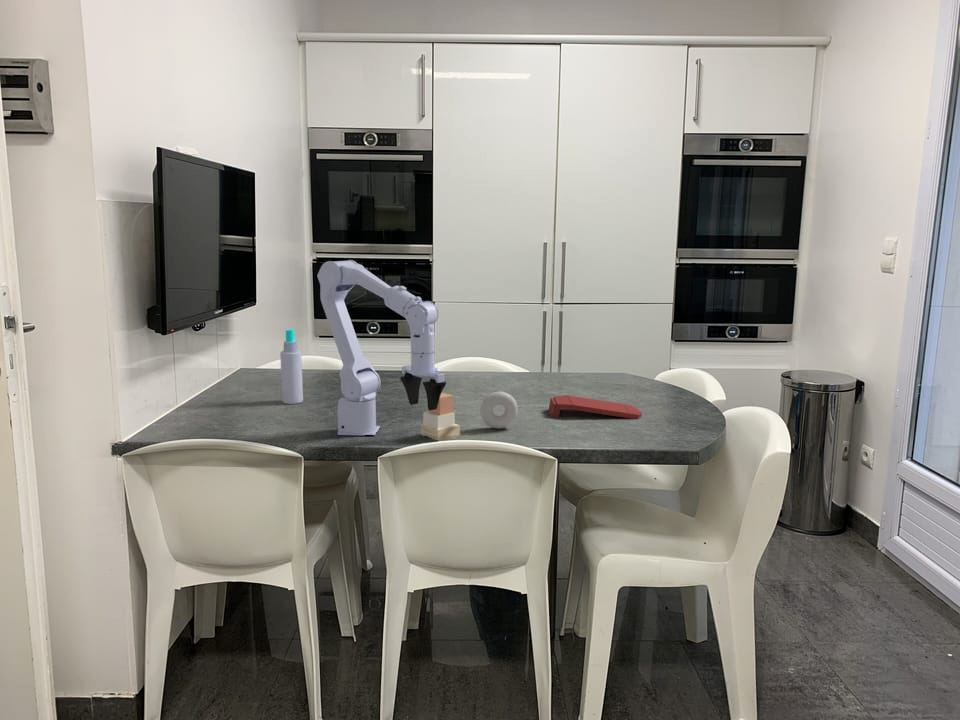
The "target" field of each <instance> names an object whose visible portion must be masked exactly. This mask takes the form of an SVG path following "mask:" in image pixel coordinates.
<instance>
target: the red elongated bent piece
mask: <svg viewBox="0 0 960 720" xmlns="http://www.w3.org/2000/svg"><path fill="white" fill-rule="evenodd" d="M549 401H550V402H549V406H548V412H549V414H550V416H551V418H559V417H560V412H561V410H572V411H580V412H585V413H586V412H587V413H594V414H601V415H607V416H612V417H619V418H626V419H633V420H639V419H640V418H642V415H643V413H642V412H641V411H640V409H638V408H637V407H636V406H633V405H631V404H629V403H628V404H626V403H621V402H615V401H606V400H600V399H595V398H586V397H581V396H575V395H568V394H567V395H564V394H563V395H557V396H556V395H555V396H553V397H550V400H549Z"/></svg>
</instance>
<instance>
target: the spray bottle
mask: <svg viewBox="0 0 960 720" xmlns="http://www.w3.org/2000/svg"><path fill="white" fill-rule="evenodd" d="M297 341H298V340H296V339H295V329H291V328H290V329H285V341H283V350H282V351H280V353H279V354H280V355H279V356H280V375H281V377H280V378H281V400H282V403H283V404H286V405H298V404H302V402H304V393H303V392H304V390H303V368H302V366H303V365H302V362H303V361H302V351H301V350H299V349H298V342H297Z"/></svg>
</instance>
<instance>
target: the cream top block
mask: <svg viewBox="0 0 960 720" xmlns="http://www.w3.org/2000/svg"><path fill="white" fill-rule="evenodd" d="M455 414H456V413H455V412H454V413H450V414H445V415H441V416H440V415H436V414H433V413H429V410H428V411H425V412H423V413H422V415H423V417H422V418H423V419H422V420H423V422H422V424H423V425H426V426H429V427H433V428H436V429H440V428H444V427H449V426H453V425H455V424H456V423H455V421H456V420H455V419H456V417H455Z"/></svg>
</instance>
